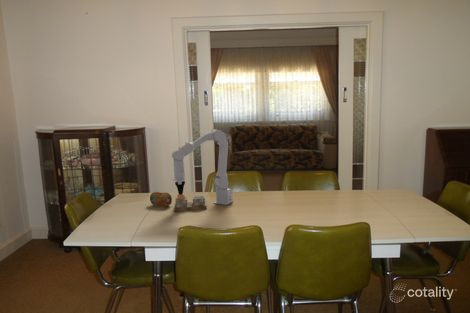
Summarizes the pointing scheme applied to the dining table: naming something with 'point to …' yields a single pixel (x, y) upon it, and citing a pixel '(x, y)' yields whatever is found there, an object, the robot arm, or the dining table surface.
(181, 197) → the terracotta plunger
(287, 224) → the dining table surface
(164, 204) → the tin
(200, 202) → the press board
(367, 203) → the dining table surface
